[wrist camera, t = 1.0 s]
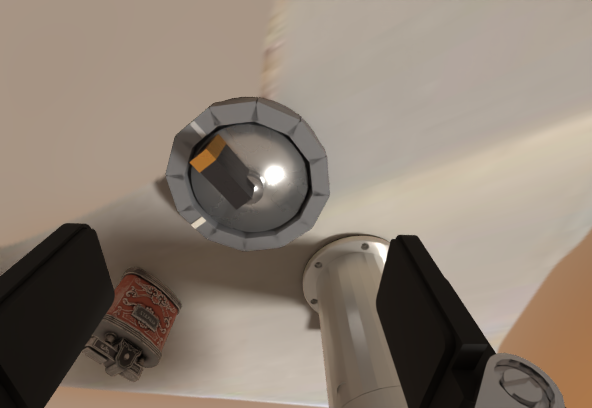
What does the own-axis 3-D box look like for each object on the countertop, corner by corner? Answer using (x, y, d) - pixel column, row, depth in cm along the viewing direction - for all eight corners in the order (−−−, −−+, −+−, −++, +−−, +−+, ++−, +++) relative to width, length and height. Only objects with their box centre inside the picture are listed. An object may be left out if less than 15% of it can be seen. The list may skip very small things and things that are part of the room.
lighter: (188, 304, 38) (157, 384, 29) (168, 315, 39) (132, 396, 30) (138, 262, 35) (86, 338, 26) (118, 275, 36) (61, 353, 27)
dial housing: (319, 236, 33) (322, 255, 30) (186, 231, 33) (176, 249, 30) (335, 99, 27) (341, 106, 24) (167, 89, 26) (152, 95, 23)
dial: (328, 187, 29) (336, 215, 24) (246, 242, 32) (238, 276, 27) (258, 96, 25) (251, 108, 20) (170, 167, 28) (146, 193, 23)
